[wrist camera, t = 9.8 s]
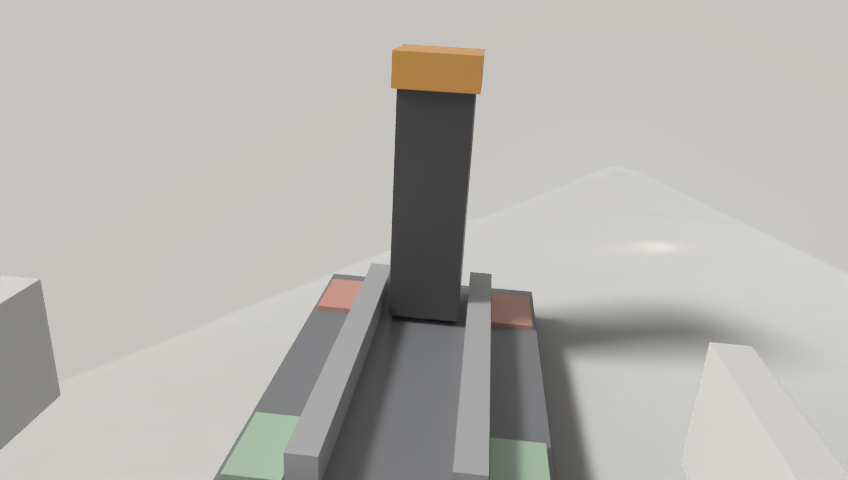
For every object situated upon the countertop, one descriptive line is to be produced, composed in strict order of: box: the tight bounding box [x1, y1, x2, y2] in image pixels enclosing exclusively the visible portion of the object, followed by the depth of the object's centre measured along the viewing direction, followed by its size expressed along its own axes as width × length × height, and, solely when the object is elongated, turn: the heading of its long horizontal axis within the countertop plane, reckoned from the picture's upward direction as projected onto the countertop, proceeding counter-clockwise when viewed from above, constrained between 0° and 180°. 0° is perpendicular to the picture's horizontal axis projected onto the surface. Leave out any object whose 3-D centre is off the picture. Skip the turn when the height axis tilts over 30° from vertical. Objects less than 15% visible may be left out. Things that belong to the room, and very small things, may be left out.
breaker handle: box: [389, 44, 485, 322], centre depth 27 cm, size 3×3×11 cm
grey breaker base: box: [213, 264, 555, 480], centre depth 25 cm, size 10×16×3 cm, turn 174°
